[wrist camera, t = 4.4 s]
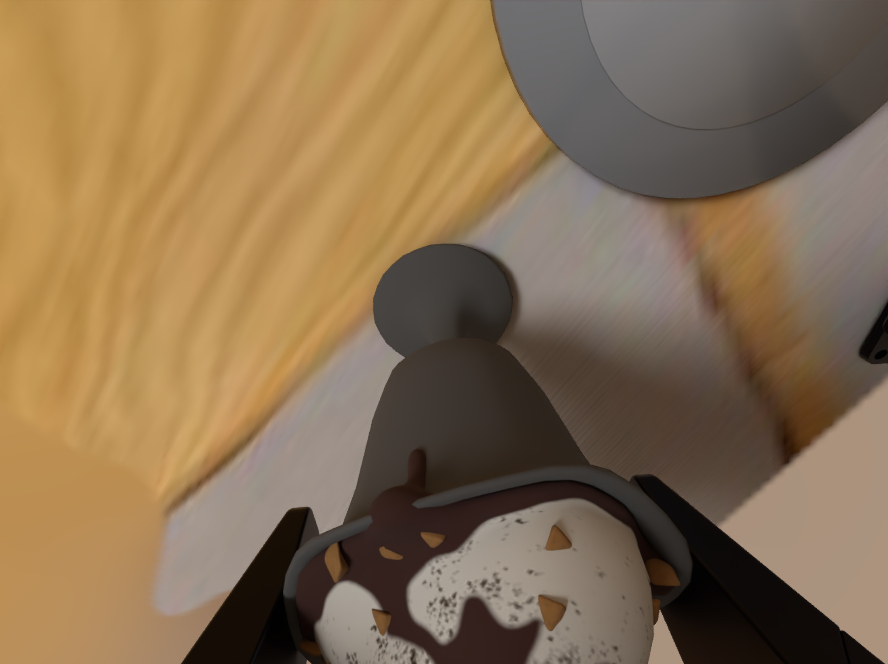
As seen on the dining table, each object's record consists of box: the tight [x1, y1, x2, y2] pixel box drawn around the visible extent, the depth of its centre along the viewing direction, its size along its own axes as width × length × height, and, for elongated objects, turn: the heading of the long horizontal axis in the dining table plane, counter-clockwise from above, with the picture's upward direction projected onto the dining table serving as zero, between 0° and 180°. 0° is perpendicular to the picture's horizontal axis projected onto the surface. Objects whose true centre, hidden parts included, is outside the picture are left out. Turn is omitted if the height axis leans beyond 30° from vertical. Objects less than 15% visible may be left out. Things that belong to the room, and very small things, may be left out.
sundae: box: [283, 244, 693, 664], centre depth 9 cm, size 7×7×15 cm
